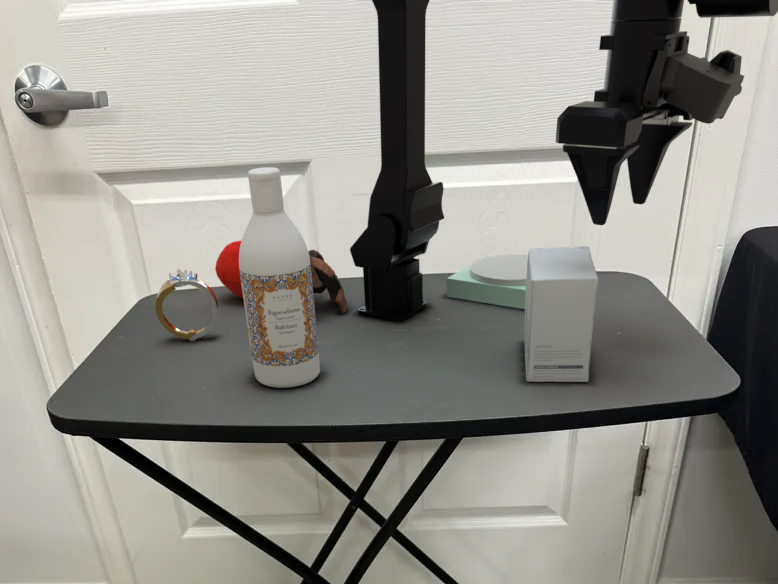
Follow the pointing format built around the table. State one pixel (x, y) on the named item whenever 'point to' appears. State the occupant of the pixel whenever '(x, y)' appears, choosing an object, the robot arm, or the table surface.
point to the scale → (492, 281)
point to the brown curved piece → (326, 280)
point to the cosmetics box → (559, 314)
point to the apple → (230, 268)
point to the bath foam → (277, 289)
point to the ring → (169, 287)
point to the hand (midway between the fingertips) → (619, 213)
